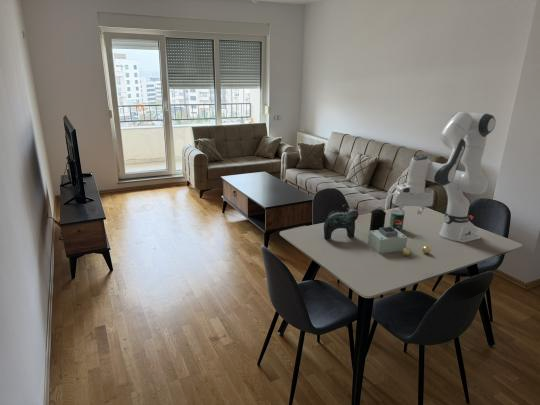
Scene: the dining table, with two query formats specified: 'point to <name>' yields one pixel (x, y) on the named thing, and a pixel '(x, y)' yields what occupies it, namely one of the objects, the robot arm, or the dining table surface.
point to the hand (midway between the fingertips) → (410, 213)
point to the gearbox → (387, 240)
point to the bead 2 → (426, 250)
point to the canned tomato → (396, 220)
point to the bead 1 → (406, 252)
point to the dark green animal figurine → (341, 222)
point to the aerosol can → (377, 219)
